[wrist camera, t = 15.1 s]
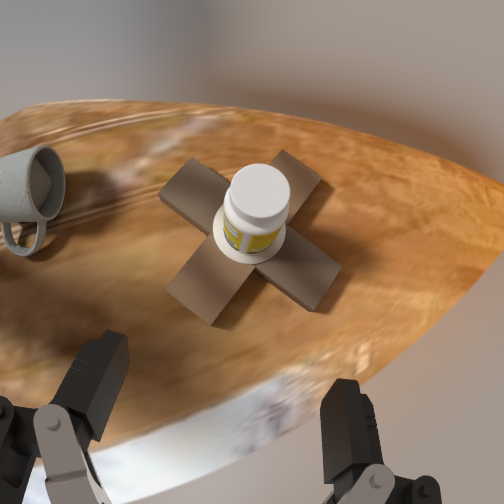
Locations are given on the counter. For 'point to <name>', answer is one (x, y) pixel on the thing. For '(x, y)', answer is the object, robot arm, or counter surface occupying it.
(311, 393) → the counter surface
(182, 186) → the walnut cross joint
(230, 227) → the supplement bottle
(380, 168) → the counter surface
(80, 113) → the counter surface
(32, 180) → the ceramic mug
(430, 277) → the counter surface
